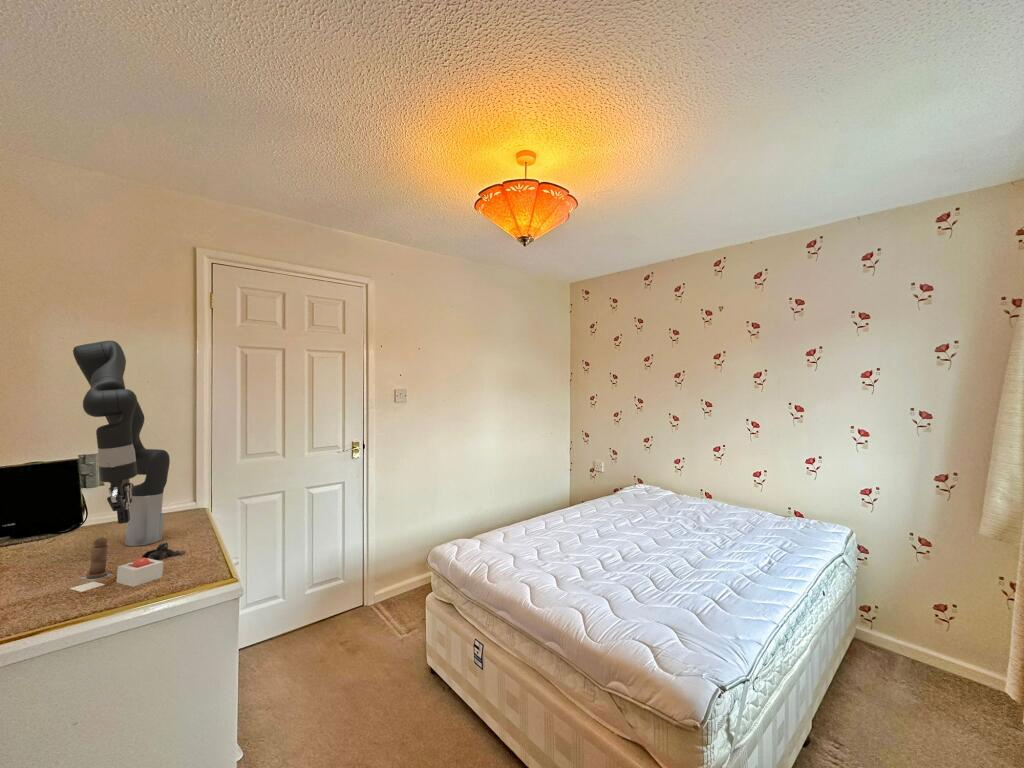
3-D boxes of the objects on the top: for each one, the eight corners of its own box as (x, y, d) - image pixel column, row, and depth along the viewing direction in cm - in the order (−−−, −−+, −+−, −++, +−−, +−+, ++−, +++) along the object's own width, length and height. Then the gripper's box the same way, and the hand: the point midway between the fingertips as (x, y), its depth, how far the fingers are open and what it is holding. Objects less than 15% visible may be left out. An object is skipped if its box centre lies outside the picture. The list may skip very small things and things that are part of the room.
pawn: (101, 572, 121) (105, 534, 121) (111, 574, 119) (115, 536, 120) (82, 577, 116) (86, 538, 117) (91, 580, 115) (96, 540, 116)
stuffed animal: (146, 569, 124) (138, 539, 130) (139, 592, 127) (131, 561, 133) (194, 558, 134) (184, 531, 140) (186, 579, 136) (176, 551, 143)
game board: (117, 570, 125) (118, 566, 125) (162, 581, 118) (163, 577, 119) (54, 588, 112) (54, 584, 112) (101, 601, 105) (101, 597, 105)
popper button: (143, 574, 119) (145, 554, 119) (152, 576, 118) (154, 556, 118) (126, 579, 115) (128, 559, 116) (136, 581, 114) (138, 561, 114)
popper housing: (145, 574, 121) (147, 558, 121) (162, 577, 119) (163, 561, 119) (116, 583, 114) (118, 566, 115) (133, 587, 112) (134, 570, 112)
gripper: (107, 458, 119) (114, 516, 121) (89, 470, 107) (97, 534, 109) (142, 454, 123) (148, 511, 124) (128, 465, 111) (134, 528, 113)
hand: (124, 522), depth 117 cm, fingers closed
